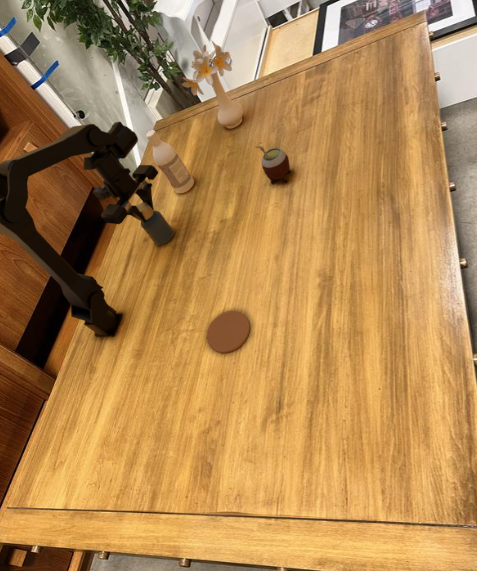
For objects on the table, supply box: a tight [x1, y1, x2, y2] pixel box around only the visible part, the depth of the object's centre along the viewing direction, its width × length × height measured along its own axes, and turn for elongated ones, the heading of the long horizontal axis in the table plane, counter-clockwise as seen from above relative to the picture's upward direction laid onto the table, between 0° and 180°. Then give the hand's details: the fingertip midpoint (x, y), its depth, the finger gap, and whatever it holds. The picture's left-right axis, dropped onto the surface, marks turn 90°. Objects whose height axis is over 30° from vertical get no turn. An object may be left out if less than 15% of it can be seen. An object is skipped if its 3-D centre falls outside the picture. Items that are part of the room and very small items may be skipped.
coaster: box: [206, 310, 251, 354], centre depth 84 cm, size 10×10×1 cm
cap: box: [136, 201, 153, 220], centre depth 105 cm, size 4×4×3 cm
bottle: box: [140, 210, 175, 246], centre depth 108 cm, size 6×6×11 cm
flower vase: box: [181, 39, 244, 130], centre depth 124 cm, size 13×18×25 cm
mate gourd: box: [255, 145, 292, 185], centre depth 101 cm, size 8×8×15 cm
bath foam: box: [145, 129, 195, 194], centre depth 116 cm, size 7×7×20 cm
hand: (148, 216), depth 106 cm, fingers closed on cap, 4 cm apart
